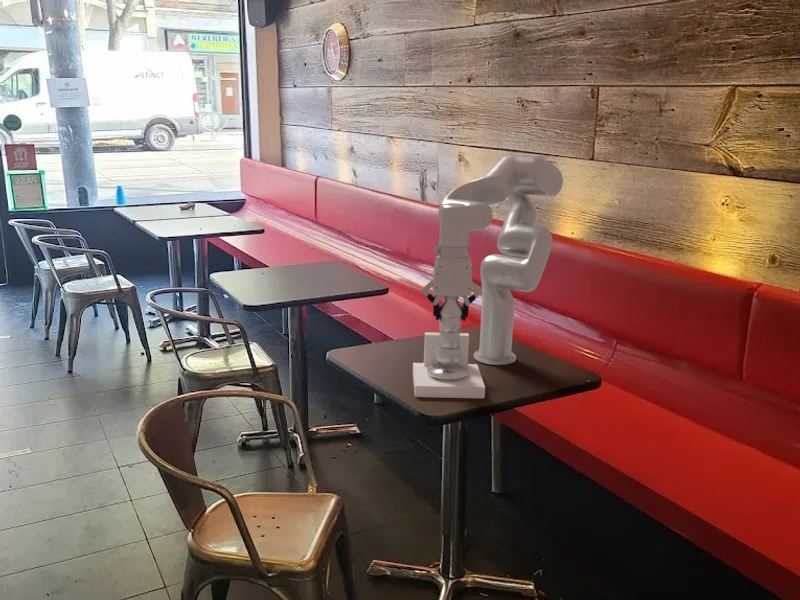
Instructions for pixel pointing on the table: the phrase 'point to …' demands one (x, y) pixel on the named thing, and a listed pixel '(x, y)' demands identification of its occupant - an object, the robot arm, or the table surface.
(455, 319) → the plastic bottle
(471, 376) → the scale
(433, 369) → the scale pan
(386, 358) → the table surface
